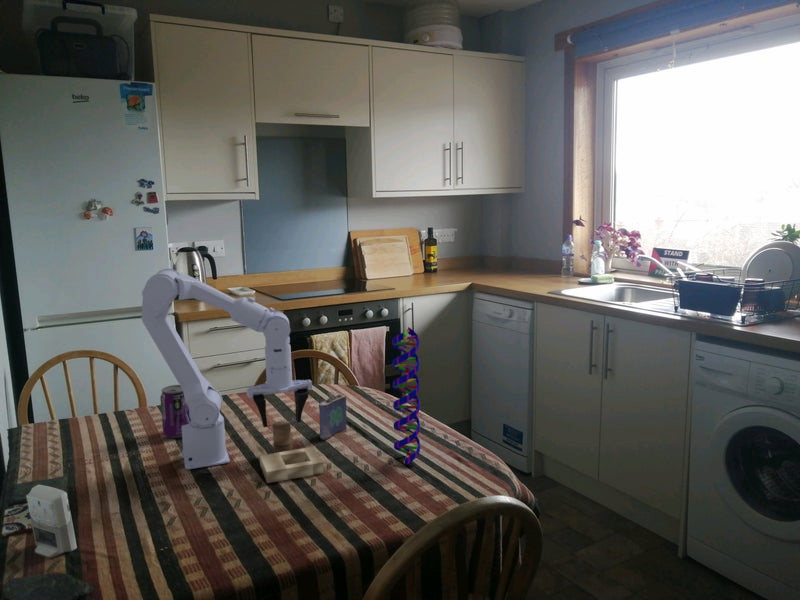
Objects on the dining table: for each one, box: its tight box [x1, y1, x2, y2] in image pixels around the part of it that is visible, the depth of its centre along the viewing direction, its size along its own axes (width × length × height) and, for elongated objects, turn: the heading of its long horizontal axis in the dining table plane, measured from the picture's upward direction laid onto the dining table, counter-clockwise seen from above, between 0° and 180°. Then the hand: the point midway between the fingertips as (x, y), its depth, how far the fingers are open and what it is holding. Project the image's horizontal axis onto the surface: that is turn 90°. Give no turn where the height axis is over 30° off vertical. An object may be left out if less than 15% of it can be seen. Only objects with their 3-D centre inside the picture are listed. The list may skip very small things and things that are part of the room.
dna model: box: [391, 327, 421, 466], centre depth 140 cm, size 6×6×30 cm
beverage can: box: [159, 384, 191, 439], centre depth 159 cm, size 7×7×12 cm
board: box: [259, 446, 324, 484], centre depth 138 cm, size 12×9×2 cm
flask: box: [318, 391, 348, 441], centre depth 158 cm, size 9×3×11 cm, turn 146°
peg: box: [272, 420, 293, 453], centre depth 147 cm, size 4×4×7 cm
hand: (281, 423), depth 146 cm, fingers open, 7 cm apart
